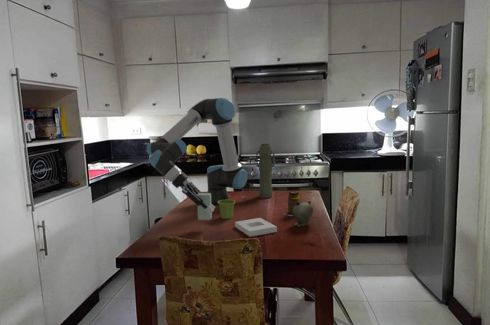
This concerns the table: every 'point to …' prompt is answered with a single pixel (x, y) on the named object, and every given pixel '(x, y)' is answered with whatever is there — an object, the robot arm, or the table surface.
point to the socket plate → (255, 227)
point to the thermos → (265, 170)
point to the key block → (201, 212)
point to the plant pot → (226, 208)
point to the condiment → (292, 202)
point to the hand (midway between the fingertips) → (212, 210)
